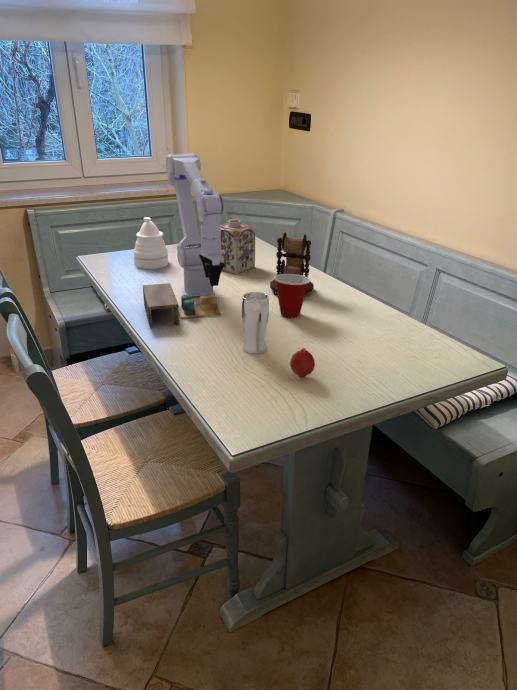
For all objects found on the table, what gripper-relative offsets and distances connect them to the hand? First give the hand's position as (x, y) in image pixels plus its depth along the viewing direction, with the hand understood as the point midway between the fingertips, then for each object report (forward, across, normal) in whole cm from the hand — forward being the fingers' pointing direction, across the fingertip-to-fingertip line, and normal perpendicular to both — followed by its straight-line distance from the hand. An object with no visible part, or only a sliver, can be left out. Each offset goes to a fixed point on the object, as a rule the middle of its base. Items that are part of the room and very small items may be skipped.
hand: (211, 281), depth 159 cm
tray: (+10, 0, +4) cm, 11 cm away
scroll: (+10, +10, -30) cm, 33 cm away
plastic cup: (+10, -9, -22) cm, 26 cm away
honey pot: (+10, +51, +14) cm, 54 cm away
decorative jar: (+10, +39, -16) cm, 43 cm away
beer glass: (+10, -29, -6) cm, 31 cm away
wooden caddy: (+9, 0, +16) cm, 18 cm away
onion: (+10, -46, -12) cm, 49 cm away
